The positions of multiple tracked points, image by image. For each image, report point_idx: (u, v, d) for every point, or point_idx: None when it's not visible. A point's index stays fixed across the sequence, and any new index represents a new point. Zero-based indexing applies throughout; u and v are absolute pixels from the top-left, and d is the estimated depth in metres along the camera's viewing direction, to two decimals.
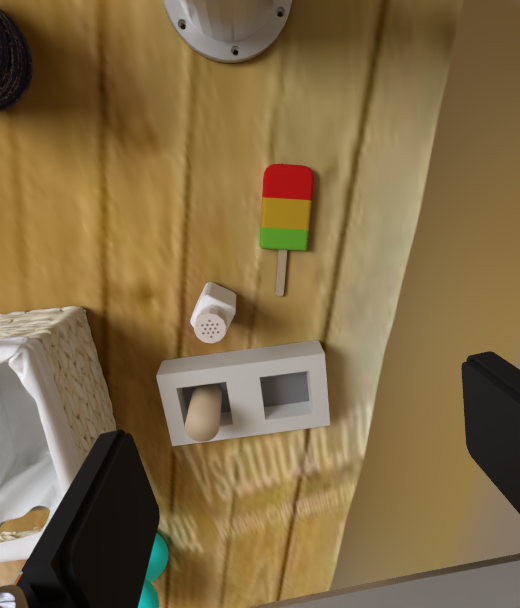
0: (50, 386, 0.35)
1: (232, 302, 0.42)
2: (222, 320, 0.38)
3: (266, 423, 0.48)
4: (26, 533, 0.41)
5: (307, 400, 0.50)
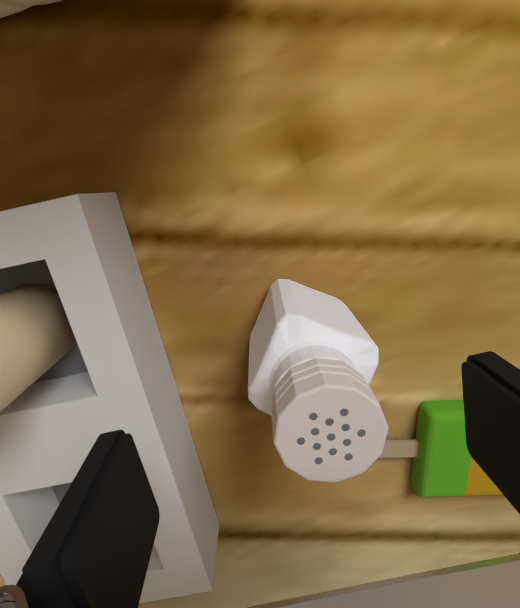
0: None
1: None
2: (362, 470, 0.11)
3: None
4: None
5: None
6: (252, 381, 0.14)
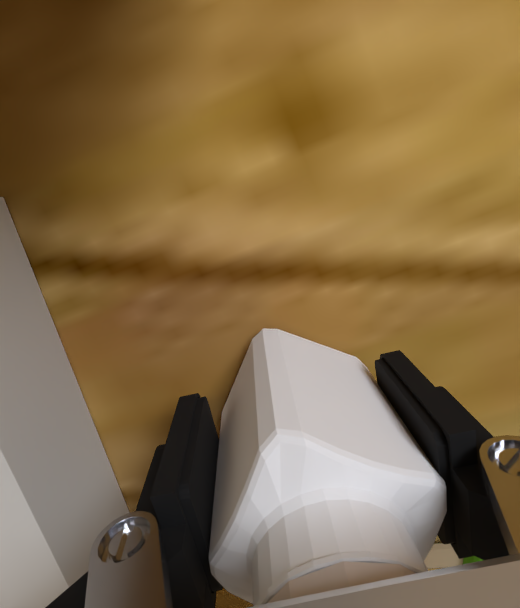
0: None
1: None
2: None
3: None
4: None
5: None
6: (216, 548, 0.08)
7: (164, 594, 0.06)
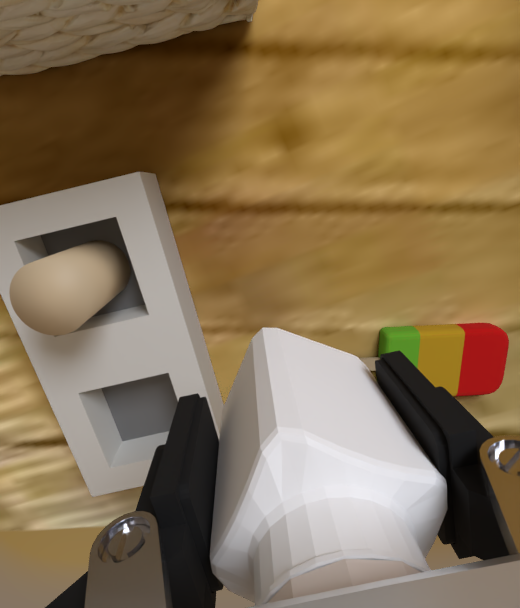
0: None
1: None
2: None
3: (71, 396, 0.25)
4: None
5: (123, 438, 0.29)
6: (217, 547, 0.08)
7: (164, 594, 0.06)
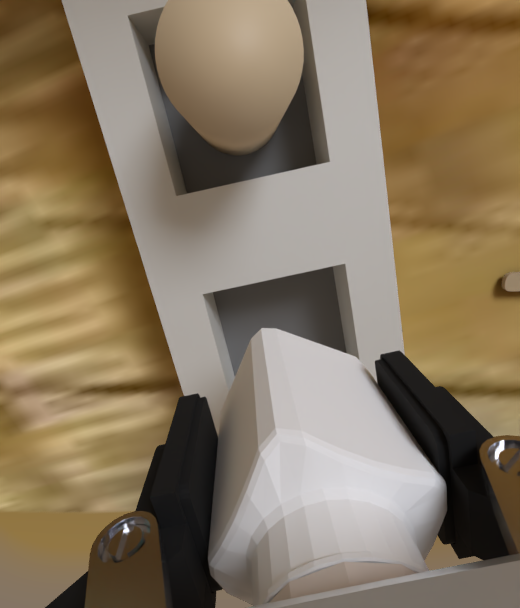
0: None
1: None
2: None
3: (191, 298, 0.16)
4: None
5: None
6: (215, 549, 0.08)
7: (164, 594, 0.06)
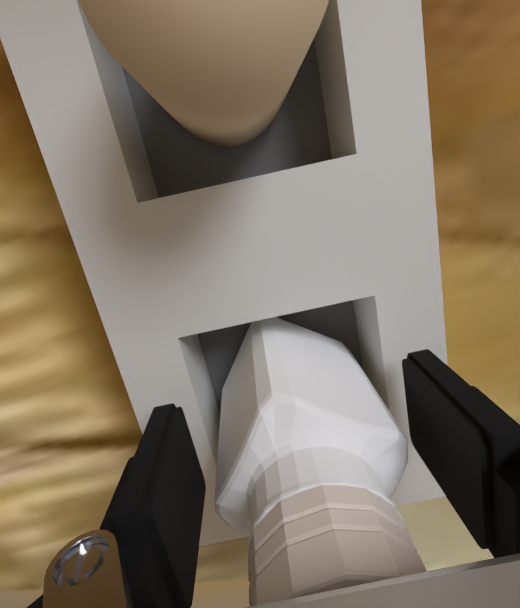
0: None
1: None
2: None
3: (162, 344, 0.12)
4: None
5: None
6: (221, 490, 0.09)
7: None
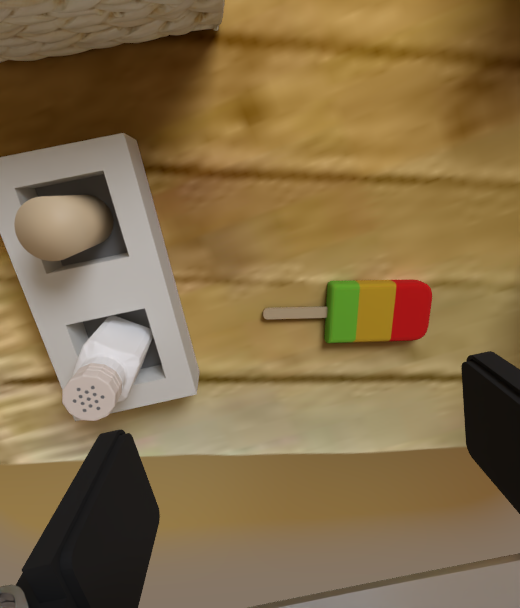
0: None
1: (131, 388, 0.29)
2: (106, 414, 0.24)
3: (59, 327, 0.29)
4: None
5: None
6: (72, 375, 0.27)
7: None
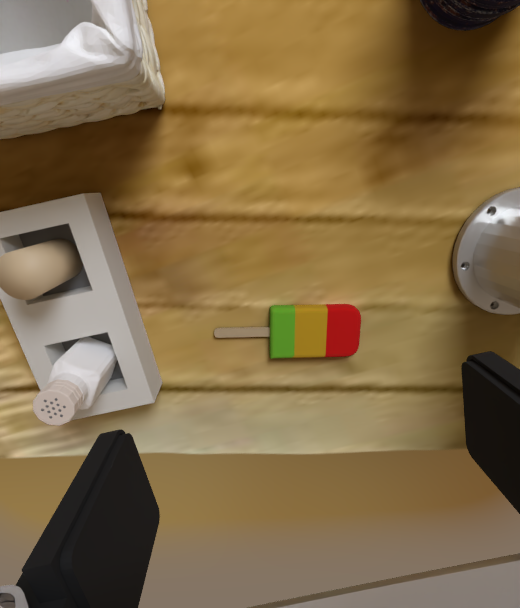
0: (60, 89, 0.21)
1: (96, 398, 0.35)
2: (68, 420, 0.30)
3: (39, 347, 0.35)
4: None
5: None
6: None
7: None
